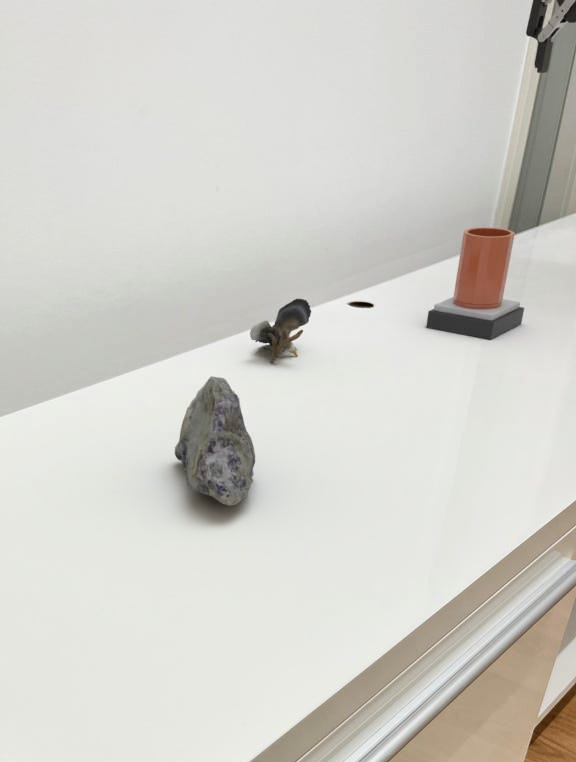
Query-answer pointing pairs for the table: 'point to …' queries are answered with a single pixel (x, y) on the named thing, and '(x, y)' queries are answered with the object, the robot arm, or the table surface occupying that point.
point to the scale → (475, 319)
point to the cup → (483, 267)
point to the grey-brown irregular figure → (283, 328)
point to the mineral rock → (216, 444)
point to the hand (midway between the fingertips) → (572, 73)
